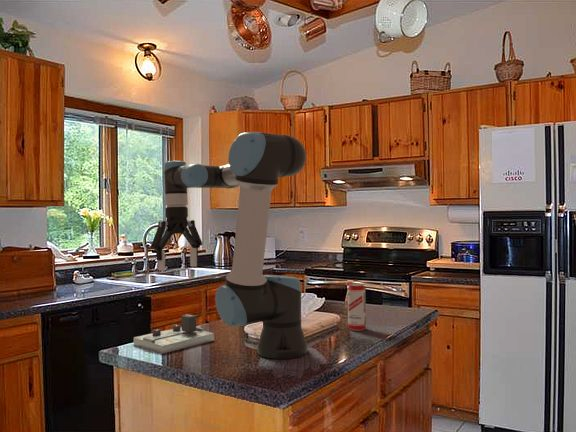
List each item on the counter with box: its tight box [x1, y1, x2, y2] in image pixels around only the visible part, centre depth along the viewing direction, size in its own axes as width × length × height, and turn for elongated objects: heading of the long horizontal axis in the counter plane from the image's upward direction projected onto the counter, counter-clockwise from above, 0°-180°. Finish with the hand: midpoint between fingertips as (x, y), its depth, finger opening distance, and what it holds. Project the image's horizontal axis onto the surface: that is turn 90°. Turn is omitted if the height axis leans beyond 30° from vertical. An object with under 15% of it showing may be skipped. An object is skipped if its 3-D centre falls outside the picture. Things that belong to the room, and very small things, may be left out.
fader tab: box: [181, 314, 197, 332], centre depth 175 cm, size 4×3×5 cm
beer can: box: [347, 282, 367, 332], centre depth 185 cm, size 6×6×16 cm
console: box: [133, 324, 215, 355], centre depth 171 cm, size 16×20×4 cm
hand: (178, 268), depth 180 cm, fingers open, 13 cm apart
